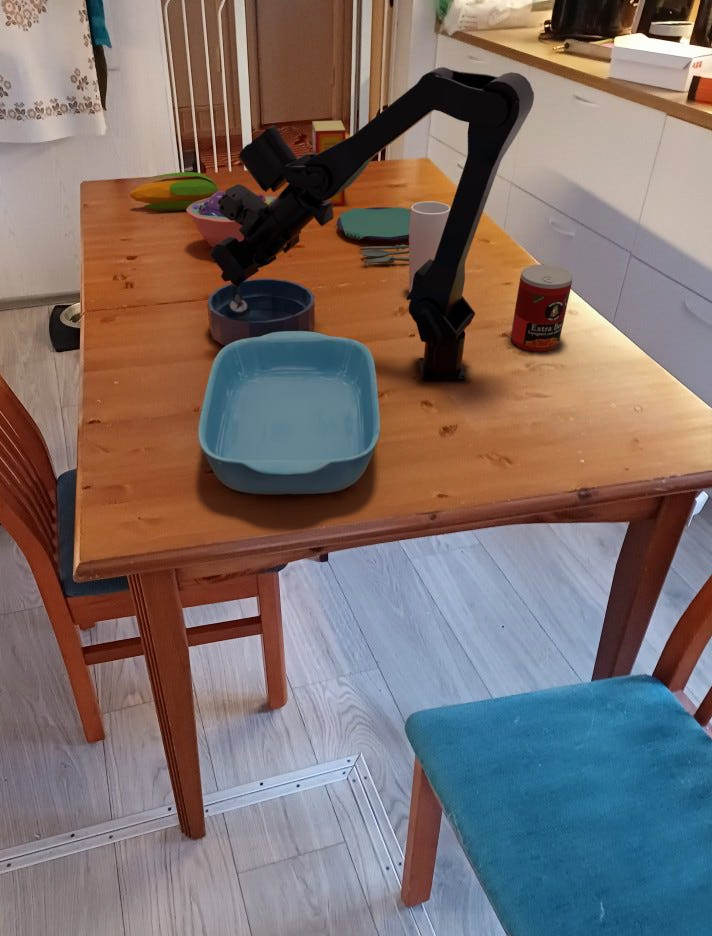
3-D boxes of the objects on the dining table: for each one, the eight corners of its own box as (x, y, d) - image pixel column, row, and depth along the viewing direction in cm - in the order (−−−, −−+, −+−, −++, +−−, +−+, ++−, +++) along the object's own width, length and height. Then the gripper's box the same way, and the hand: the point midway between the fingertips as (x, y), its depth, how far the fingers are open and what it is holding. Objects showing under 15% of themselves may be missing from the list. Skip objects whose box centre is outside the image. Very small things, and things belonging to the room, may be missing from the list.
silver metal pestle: (253, 318, 130) (250, 252, 123) (245, 327, 127) (240, 261, 120) (233, 315, 131) (228, 250, 124) (223, 324, 128) (218, 258, 121)
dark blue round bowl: (313, 355, 122) (313, 322, 118) (204, 355, 122) (201, 322, 119) (315, 309, 135) (314, 278, 132) (216, 309, 135) (213, 278, 132)
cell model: (301, 253, 155) (300, 194, 148) (204, 269, 150) (198, 208, 143) (272, 227, 167) (270, 171, 160) (182, 240, 162) (175, 183, 155)
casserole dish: (222, 370, 118) (218, 326, 114) (368, 369, 118) (370, 325, 113) (192, 522, 90) (185, 471, 86) (384, 521, 90) (387, 471, 85)
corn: (217, 174, 171) (125, 179, 169) (220, 210, 176) (131, 215, 174) (215, 167, 177) (127, 172, 175) (218, 203, 182) (132, 207, 180)
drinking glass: (440, 302, 137) (450, 214, 127) (402, 300, 138) (408, 212, 128) (443, 287, 142) (452, 202, 132) (406, 285, 143) (412, 200, 133)
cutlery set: (421, 214, 173) (422, 203, 171) (447, 265, 150) (449, 253, 148) (332, 217, 172) (332, 206, 171) (345, 268, 149) (345, 256, 148)
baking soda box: (312, 193, 185) (312, 119, 175) (340, 192, 186) (341, 118, 175) (316, 206, 178) (315, 129, 168) (344, 205, 178) (345, 128, 168)
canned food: (524, 355, 121) (536, 286, 114) (501, 333, 127) (511, 267, 120) (568, 349, 123) (583, 281, 115) (543, 327, 128) (556, 261, 121)
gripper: (281, 154, 119) (224, 218, 130) (217, 186, 106) (159, 254, 117) (326, 215, 121) (266, 272, 132) (269, 254, 108) (208, 314, 119)
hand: (226, 276), depth 125 cm, fingers closed, pressing on silver metal pestle
